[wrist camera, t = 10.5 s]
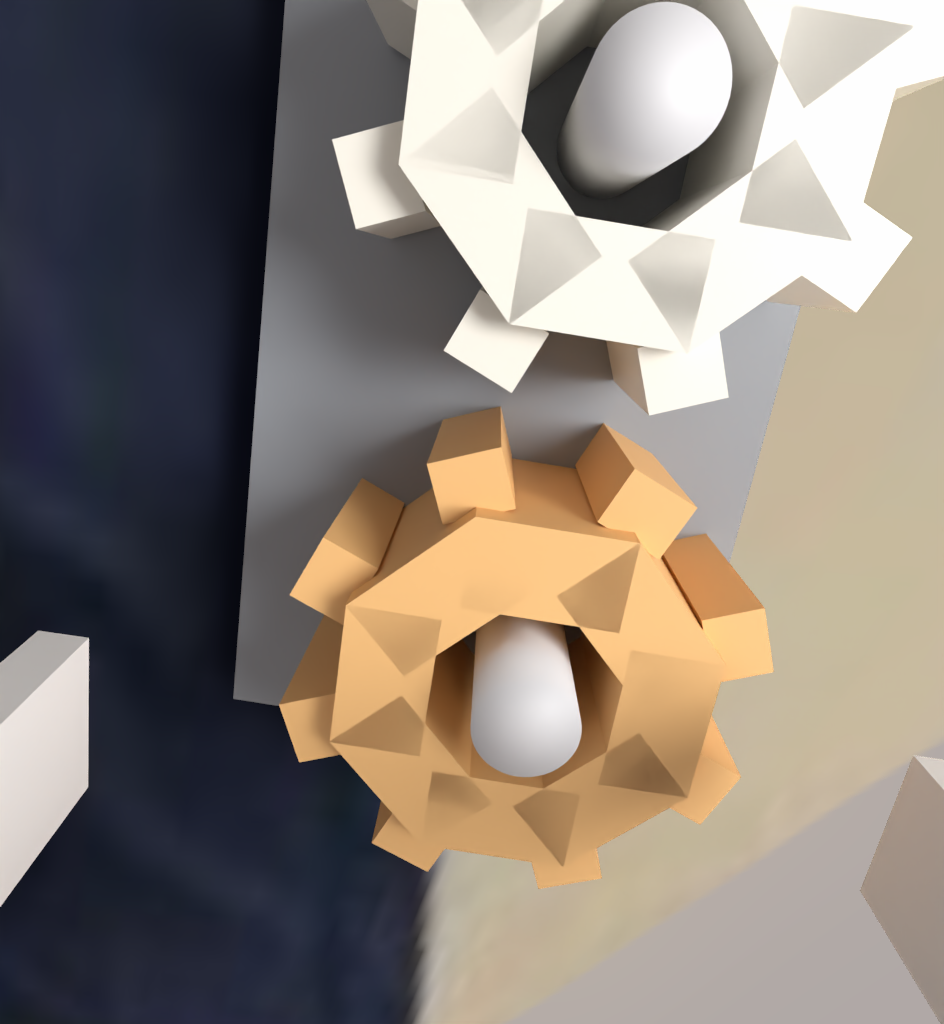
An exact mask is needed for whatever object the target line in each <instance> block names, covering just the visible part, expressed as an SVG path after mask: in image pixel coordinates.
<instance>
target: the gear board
mask: <svg viewBox="0 0 944 1024" xmlns="http://www.w3.org/2000/svg"><path fill="white" fill-rule="evenodd" d="M410 65H411V60H410V59H409V58H407V57H406V56H404V55H403V54H401V53H400V52H399V51H397V50H396V49H394V48H393V47H391V46H390V45H388V44H387V41H386V39H385V37H384V35H383V33H382V31H381V29H380V27H379V25H378V23H377V21H376V19H375V17H374V15H373V13H372V11H371V9H370V7H369V5H368V3H367V1H366V0H285V10H284V23H283V37H282V50H281V64H280V77H279V91H278V104H277V117H276V131H275V144H274V158H273V171H272V185H271V198H270V212H269V225H268V238H267V252H266V265H265V279H264V292H263V306H262V319H261V332H260V346H259V359H258V373H257V386H256V400H255V413H254V427H253V440H252V453H251V467H250V480H249V494H248V507H247V521H246V534H245V548H244V561H243V574H242V588H241V601H240V615H239V628H238V642H237V655H236V668H235V682H234V695H233V699H238V700H244V701H250V702H257V703H263V704H270V705H276V706H279V704H280V702H281V700H282V698H283V696H284V694H285V692H286V690H287V688H288V686H289V684H290V682H291V680H292V678H293V676H294V674H295V672H296V670H297V668H298V666H299V664H300V662H301V660H302V658H303V656H304V654H305V652H306V650H307V648H308V646H309V644H310V642H311V640H312V638H313V636H314V634H315V632H316V630H317V628H318V626H319V624H320V622H321V620H322V618H323V616H324V614H322V613H321V612H319V611H317V610H315V609H313V608H312V607H310V606H308V605H306V604H304V603H303V602H301V601H299V600H297V599H296V598H294V597H292V596H290V593H291V591H292V590H293V588H294V586H295V585H296V583H297V581H298V579H299V578H300V576H301V574H302V573H303V571H304V569H305V568H306V566H307V564H308V562H309V561H310V559H311V557H312V556H313V554H314V552H315V551H316V549H317V547H318V546H319V544H320V542H321V540H322V539H323V537H324V536H325V534H326V532H327V531H328V529H329V528H330V526H331V525H332V523H333V522H334V520H335V519H336V517H337V516H338V514H339V513H340V511H341V509H342V508H343V506H344V505H345V503H346V502H347V500H348V499H349V497H350V496H351V494H352V493H353V491H354V490H355V488H356V487H357V485H358V483H359V482H360V480H361V479H362V478H363V479H365V480H367V481H368V482H370V483H372V484H373V485H375V486H377V487H378V488H380V489H382V490H384V491H385V492H387V493H389V494H390V495H392V496H394V497H395V498H397V499H399V500H401V501H402V502H404V506H403V508H404V507H406V506H407V505H409V504H410V503H411V502H413V501H414V500H416V499H417V498H419V497H420V496H421V495H423V494H424V493H426V492H427V491H429V490H430V489H431V488H433V486H432V482H431V478H430V475H429V471H428V467H427V462H428V459H429V457H430V454H431V451H432V448H433V446H434V443H435V440H436V437H437V435H438V432H439V429H440V427H441V424H442V421H443V420H444V419H448V418H452V417H457V416H461V415H465V414H470V413H474V412H478V411H482V410H487V409H491V408H495V407H500V406H501V410H502V414H503V419H504V423H505V427H506V432H507V436H508V440H509V445H510V449H511V453H512V458H513V459H519V460H525V461H531V462H537V463H543V464H549V465H556V466H562V467H568V468H574V469H576V466H575V464H576V463H577V462H578V460H579V459H580V457H581V456H582V454H583V453H584V451H585V450H586V448H587V447H588V445H589V444H590V442H591V441H592V439H593V438H594V436H595V435H596V433H597V432H598V431H599V429H600V428H601V426H602V425H603V423H604V424H606V425H607V426H609V427H610V428H612V429H614V430H615V431H617V432H618V433H620V434H622V435H623V436H625V437H626V438H628V439H630V440H631V441H633V442H634V443H636V444H638V445H639V446H641V447H642V448H644V449H645V450H647V451H649V452H650V453H652V454H653V455H654V456H655V458H656V459H657V460H658V461H659V462H660V464H661V465H662V466H663V467H664V468H665V470H666V471H667V472H668V473H669V474H670V476H671V477H672V478H673V479H674V480H675V482H676V483H677V484H678V485H679V486H680V488H681V489H682V490H683V491H684V492H685V494H686V495H687V496H688V497H689V498H690V500H691V501H692V502H693V503H694V504H695V506H696V507H697V509H696V511H695V512H694V513H693V515H692V516H691V517H690V519H689V520H688V521H687V523H686V524H685V526H684V527H683V528H682V530H681V531H680V532H679V534H678V535H677V536H676V538H675V539H674V540H677V539H682V538H687V537H691V536H696V535H701V534H707V535H708V537H709V538H710V539H711V541H712V542H713V543H714V544H715V546H716V547H717V548H718V549H719V551H720V552H721V553H722V555H723V556H724V557H725V558H726V560H727V561H728V562H730V559H731V555H732V551H733V548H734V544H735V541H736V537H737V533H738V530H739V526H740V523H741V519H742V515H743V512H744V508H745V505H746V501H747V497H748V494H749V490H750V487H751V483H752V479H753V476H754V472H755V469H756V465H757V461H758V458H759V454H760V451H761V447H762V443H763V440H764V436H765V433H766V429H767V425H768V422H769V418H770V415H771V411H772V407H773V404H774V400H775V397H776V393H777V389H778V386H779V382H780V379H781V375H782V371H783V368H784V364H785V360H786V357H787V353H788V350H789V346H790V342H791V339H792V335H793V332H794V328H795V324H796V321H797V317H798V314H799V310H800V306H798V305H789V304H781V303H773V302H768V301H767V300H765V301H764V302H762V303H761V304H759V305H758V306H756V307H755V308H753V309H752V310H751V311H749V312H748V313H746V314H745V315H743V316H742V317H740V318H739V319H737V320H736V321H735V322H733V323H732V324H730V325H729V326H727V327H726V328H724V329H723V330H721V331H720V332H719V333H720V340H721V347H722V354H723V361H724V368H725V375H726V382H727V389H728V396H729V398H724V399H720V400H715V401H711V402H707V403H702V404H698V405H693V406H689V407H685V408H680V409H676V410H671V411H667V412H663V413H658V414H654V415H648V414H647V413H646V412H645V411H644V410H643V409H642V408H641V407H640V406H639V405H638V404H637V403H636V402H635V401H633V400H632V399H631V398H630V397H629V396H628V395H627V394H626V393H625V392H624V391H623V390H622V389H621V388H620V387H619V386H618V385H617V384H616V383H615V382H614V380H613V375H612V369H611V364H610V359H609V353H608V348H607V342H606V340H602V339H596V338H590V337H584V336H578V335H572V334H566V333H560V332H554V331H548V330H547V332H548V333H549V335H548V336H547V338H546V340H545V341H544V343H543V344H542V346H541V348H540V349H539V351H538V352H537V354H536V355H535V357H534V359H533V360H532V362H531V363H530V365H529V367H528V368H527V370H526V371H525V373H524V374H523V376H522V378H521V379H520V381H519V382H518V384H517V386H516V387H515V389H514V390H513V392H512V393H511V392H509V391H508V390H506V389H504V388H503V387H501V386H500V385H498V384H496V383H495V382H493V381H492V380H490V379H488V378H487V377H485V376H484V375H482V374H480V373H479V372H477V371H476V370H474V369H472V368H471V367H469V366H468V365H466V364H464V363H463V362H461V361H460V360H458V359H456V358H455V357H453V356H452V355H450V354H448V353H447V352H445V351H444V349H445V347H446V346H447V344H448V342H449V341H450V339H451V337H452V336H453V334H454V332H455V331H456V329H457V327H458V326H459V324H460V322H461V320H462V319H463V317H464V315H465V314H466V312H467V310H468V309H469V307H470V305H471V304H472V302H473V300H474V299H475V297H476V295H477V294H478V292H479V290H480V289H481V288H482V287H483V286H482V284H481V283H480V281H479V280H478V278H477V277H476V276H475V274H474V273H473V271H472V270H471V268H470V267H469V265H468V264H467V263H466V261H465V260H464V258H463V257H462V255H461V254H460V252H459V251H458V250H457V248H456V247H455V245H454V244H453V242H452V241H451V239H450V238H449V237H448V235H447V234H446V232H445V231H444V229H443V228H442V226H439V227H435V228H431V229H427V230H424V231H420V232H416V233H412V234H408V235H404V236H400V237H396V238H393V239H389V238H386V237H382V236H379V235H375V234H371V233H368V232H364V231H361V230H357V229H356V228H355V224H354V220H353V216H352V213H351V209H350V205H349V201H348V198H347V194H346V190H345V186H344V182H343V179H342V175H341V171H340V167H339V164H338V160H337V156H336V152H335V149H334V145H333V141H332V139H336V138H340V137H343V136H347V135H351V134H354V133H358V132H362V131H365V130H369V129H373V128H376V127H380V126H383V125H387V124H391V123H394V122H398V121H402V120H404V115H405V106H406V98H407V90H408V81H409V73H410ZM731 88H732V64H731V58H730V54H729V51H728V48H727V45H726V43H725V40H724V38H723V36H722V35H721V33H720V32H719V30H718V29H717V27H716V26H715V25H714V24H713V23H712V21H711V20H710V19H708V18H707V17H706V16H705V15H704V14H702V13H701V12H699V11H698V10H696V9H694V8H692V7H689V6H687V5H684V4H680V3H675V2H656V3H651V4H647V5H644V6H641V7H638V8H636V9H634V10H632V11H631V12H629V13H627V14H626V15H624V16H623V17H622V18H620V19H619V20H618V21H617V22H616V23H615V24H614V25H613V26H612V27H611V28H610V29H609V30H608V32H607V33H606V34H605V36H604V37H603V39H602V40H601V42H600V43H599V45H598V47H597V48H593V47H586V48H584V49H583V50H582V51H581V52H579V53H578V54H577V55H576V56H574V57H573V58H572V59H571V60H569V61H568V62H567V63H566V64H564V65H563V66H562V67H561V68H559V69H558V70H557V71H556V72H554V73H553V74H552V75H551V76H549V77H548V78H547V79H546V80H544V81H543V82H542V83H541V84H539V85H538V86H537V87H536V88H534V89H533V90H532V91H531V92H530V93H528V94H527V99H526V105H525V111H524V117H523V123H522V129H521V132H522V134H523V135H524V137H525V138H526V140H527V142H528V143H529V145H530V146H531V148H532V149H533V151H534V152H535V154H536V155H537V157H538V159H539V160H540V162H541V163H542V165H543V166H544V168H545V169H546V171H547V173H548V174H549V176H550V177H551V179H552V180H553V182H554V183H555V185H556V186H557V188H558V190H559V191H560V193H561V194H562V196H563V197H564V199H565V200H566V202H567V203H568V205H569V207H570V208H571V210H572V211H573V213H574V214H575V216H579V217H585V218H591V219H597V220H603V221H609V222H615V223H621V224H627V225H633V226H639V227H642V226H644V225H645V224H646V223H648V222H649V221H650V220H652V219H653V218H654V217H656V216H657V215H658V214H660V213H661V212H663V211H664V210H665V209H667V208H668V207H669V206H671V205H672V204H673V203H675V202H676V201H678V200H679V199H680V195H681V190H682V186H683V181H684V177H685V172H686V168H687V164H688V159H689V155H690V152H691V151H693V150H694V149H696V148H697V147H698V146H699V145H701V144H702V143H703V142H704V141H705V140H706V139H707V138H708V137H709V136H710V135H711V134H712V132H713V131H714V130H715V128H716V127H717V126H718V124H719V122H720V120H721V119H722V117H723V115H724V112H725V110H726V108H727V105H728V101H729V98H730V94H731ZM403 508H402V509H403ZM581 633H582V630H581V629H580V627H576V626H570V625H564V624H557V623H551V622H545V621H539V620H532V619H526V618H520V617H513V616H507V615H501V614H500V615H498V616H497V617H495V618H494V619H492V620H491V621H489V622H487V623H486V624H484V625H483V626H481V627H480V628H478V629H477V630H475V631H474V632H472V633H470V634H469V635H467V636H466V637H464V638H463V639H462V640H463V641H464V643H465V644H466V645H467V646H468V648H469V649H470V650H471V651H472V653H473V654H474V655H475V661H474V677H473V694H472V710H471V727H470V729H471V738H472V742H473V744H474V747H475V749H476V751H477V752H478V754H479V755H480V756H481V758H482V759H483V760H484V761H485V762H486V763H487V764H489V765H490V766H491V767H493V768H494V769H496V770H498V771H500V772H502V773H505V774H508V775H512V776H517V777H535V776H540V775H544V774H547V773H550V772H552V771H554V770H556V769H558V768H559V767H561V766H562V765H564V764H565V763H566V762H567V761H568V760H569V759H570V758H571V757H572V756H573V754H574V753H575V751H576V749H577V747H578V745H579V742H580V739H581V733H582V724H581V718H580V712H579V707H578V702H577V696H576V691H575V685H574V680H573V674H572V669H571V663H570V658H569V652H568V647H567V645H568V644H570V643H571V642H573V641H575V640H576V639H578V638H580V637H581Z"/></svg>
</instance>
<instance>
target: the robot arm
mask: <svg viewBox="0 0 944 1024" xmlns="http://www.w3.org/2000/svg"><path fill="white" fill-rule="evenodd" d="M88 715H89V638H86V637H79V636H72V635H65V634H58V633H51V632H44V631H37V632H36V633H35V634H34V635H33V636H32V637H30V638H29V639H28V640H27V641H26V642H24V643H23V644H22V645H21V646H20V647H19V648H17V649H16V650H15V651H14V652H13V653H12V654H10V655H9V656H8V657H7V658H6V659H4V660H3V661H2V662H1V663H0V906H1V905H2V904H3V902H4V901H5V899H6V898H7V897H8V895H9V894H10V893H11V891H12V890H13V889H14V887H15V886H16V885H17V883H18V882H19V880H20V879H21V878H22V876H23V875H24V874H25V872H26V871H27V870H28V868H29V867H30V865H31V864H32V863H33V861H34V860H35V859H36V857H37V856H38V855H39V853H40V852H41V850H42V849H43V848H44V846H45V845H46V844H47V842H48V841H49V840H50V838H51V837H52V836H53V834H54V833H55V831H56V830H57V829H58V827H59V826H60V825H61V823H62V822H63V821H64V819H65V818H66V816H67V815H68V814H69V812H70V811H71V810H72V808H73V807H74V806H75V804H76V803H77V801H78V800H79V799H80V797H81V796H82V795H83V793H84V792H85V791H86V789H87V788H88ZM860 891H861V893H862V895H863V896H864V898H865V900H866V901H867V903H868V904H869V906H870V907H871V909H872V911H873V913H874V914H875V916H876V918H877V919H878V921H879V923H880V924H881V926H882V928H883V929H884V930H885V933H886V934H887V936H888V937H889V939H890V941H891V942H892V944H893V946H894V947H895V949H896V951H897V952H898V954H899V956H900V957H901V959H902V960H903V962H904V964H905V966H906V967H907V969H908V970H909V972H910V974H911V975H912V977H913V979H914V981H915V982H916V984H917V985H918V987H919V989H920V990H921V992H922V994H923V995H924V997H925V999H926V1000H927V1002H928V1004H929V1005H930V1007H931V1008H932V1010H933V1012H934V1014H935V1015H936V1017H937V1019H938V1020H939V1022H940V1023H941V1024H944V760H942V759H935V758H929V757H922V756H915V755H913V758H912V760H911V763H910V765H909V768H908V771H907V773H906V776H905V778H904V781H903V784H902V786H901V788H900V791H899V793H898V796H897V798H896V801H895V803H894V806H893V809H892V811H891V814H890V816H889V819H888V821H887V824H886V826H885V829H884V831H883V834H882V837H881V839H880V841H879V844H878V847H877V849H876V852H875V854H874V857H873V859H872V862H871V865H870V867H869V869H868V872H867V874H866V877H865V880H864V882H863V885H862V887H861V890H860Z"/></svg>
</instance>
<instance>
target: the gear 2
mask: <svg viewBox="0 0 944 1024" xmlns="http://www.w3.org/2000/svg"><path fill="white" fill-rule="evenodd" d="M575 466H576V469H574V468H568V467H562V466H556V465H549V464H543V463H537V462H531V461H525V460H519V459H513V458H512V453H511V449H510V445H509V440H508V436H507V432H506V427H505V423H504V419H503V414H502V410H501V406H500V407H495V408H491V409H487V410H482V411H478V412H474V413H470V414H465V415H461V416H457V417H452V418H448V419H444V420H443V421H442V424H441V427H440V429H439V432H438V435H437V437H436V440H435V443H434V446H433V448H432V451H431V454H430V457H429V459H428V462H427V467H428V471H429V475H430V478H431V482H432V486H433V488H431V489H430V490H429V491H427V492H426V493H424V494H423V495H421V496H420V497H419V498H417V499H416V500H414V501H413V502H411V503H410V504H409V505H407V506H406V507H404V508H403V506H404V502H402V501H401V500H399V499H397V498H395V497H394V496H392V495H390V494H389V493H387V492H385V491H384V490H382V489H380V488H378V487H377V486H375V485H373V484H372V483H370V482H368V481H367V480H365V479H363V478H362V479H361V480H360V482H359V483H358V485H357V487H356V488H355V490H354V491H353V493H352V494H351V496H350V497H349V499H348V500H347V502H346V503H345V505H344V506H343V508H342V509H341V511H340V513H339V514H338V516H337V517H336V519H335V520H334V522H333V523H332V525H331V526H330V528H329V529H328V531H327V532H326V534H325V536H324V537H323V539H322V540H321V542H320V544H319V546H318V547H317V549H316V551H315V552H314V554H313V556H312V557H311V559H310V561H309V562H308V564H307V566H306V568H305V569H304V571H303V573H302V574H301V576H300V578H299V579H298V581H297V583H296V585H295V586H294V588H293V590H292V591H291V593H290V596H292V597H294V598H296V599H297V600H299V601H301V602H303V603H304V604H306V605H308V606H310V607H312V608H313V609H315V610H317V611H319V612H321V613H322V614H324V616H323V618H322V620H321V622H320V624H319V626H318V628H317V630H316V632H315V634H314V636H313V638H312V640H311V642H310V644H309V646H308V648H307V650H306V652H305V654H304V656H303V658H302V660H301V662H300V664H299V666H298V668H297V670H296V672H295V674H294V676H293V678H292V680H291V682H290V684H289V686H288V688H287V690H286V692H285V694H284V696H283V698H282V700H281V702H280V704H279V706H280V709H281V712H282V715H283V718H284V721H285V723H286V726H287V729H288V732H289V735H290V738H291V740H292V743H293V746H294V749H295V752H296V755H297V757H298V760H299V762H304V761H309V760H315V759H320V758H325V757H330V756H336V755H342V756H343V758H344V759H345V760H346V761H347V762H348V763H349V764H350V766H351V767H352V768H353V769H354V770H355V771H356V772H357V774H358V775H359V776H360V777H361V778H362V779H363V780H364V781H365V783H366V784H367V785H368V786H369V787H370V788H371V789H372V791H373V792H374V793H375V794H376V795H377V796H378V797H379V798H380V800H381V803H380V808H379V812H378V817H377V821H376V826H375V830H374V835H373V839H372V843H373V844H375V845H377V846H379V847H381V848H383V849H385V850H386V851H388V852H390V853H392V854H394V855H396V856H398V857H400V858H402V859H404V860H406V861H408V862H410V863H411V864H413V865H415V866H417V867H419V868H421V869H423V870H425V871H427V872H428V870H429V869H430V868H431V866H432V865H433V864H434V862H435V861H436V860H437V858H438V857H439V856H440V854H441V853H442V852H443V850H444V849H450V850H457V851H463V852H470V853H476V854H483V855H489V856H496V857H502V858H509V859H515V860H522V861H528V862H532V866H533V870H534V874H535V877H536V881H537V885H538V889H541V888H547V887H553V886H559V885H565V884H571V883H577V882H583V881H588V880H594V879H600V878H602V876H601V871H600V865H599V859H598V853H597V848H598V847H600V846H602V845H603V844H605V843H607V842H609V841H611V840H612V839H614V838H616V837H618V836H620V835H621V834H623V833H625V832H627V831H629V830H630V829H632V828H634V827H636V826H638V825H639V824H641V823H643V822H645V821H647V820H648V819H650V818H652V817H654V816H656V815H657V814H659V813H661V812H663V811H665V810H666V809H668V808H671V809H673V810H675V811H676V812H678V813H680V814H682V815H684V816H685V817H687V818H689V819H691V820H692V821H694V822H696V823H698V824H701V823H702V822H703V821H704V820H705V818H706V817H707V816H708V815H709V814H710V813H711V811H712V810H713V809H714V808H715V807H716V806H717V805H718V803H719V802H720V801H721V800H722V799H723V798H724V796H725V795H726V794H727V793H728V792H729V791H730V789H731V788H732V787H733V786H734V785H735V784H736V782H737V781H738V780H739V779H740V778H741V776H740V774H739V772H738V770H737V768H736V765H735V763H734V761H733V759H732V757H731V755H730V753H729V751H728V749H727V747H726V745H725V742H724V740H723V738H722V736H721V734H720V732H719V730H718V728H717V726H716V724H715V722H714V719H713V717H712V712H713V708H714V705H715V701H716V698H717V695H718V691H719V688H720V684H721V682H724V681H729V680H734V679H740V678H745V677H750V676H755V675H761V674H766V673H771V672H774V671H773V664H772V656H771V649H770V642H769V635H768V628H767V621H766V614H765V608H764V607H763V605H762V604H761V603H760V602H759V600H758V599H757V598H756V596H755V595H754V594H753V593H752V591H751V590H750V589H749V588H748V586H747V585H746V584H745V582H744V581H743V580H742V579H741V577H740V576H739V575H738V574H737V572H736V571H735V570H734V568H733V567H732V566H731V565H730V563H729V562H728V561H727V560H726V558H725V557H724V556H723V555H722V553H721V552H720V551H719V549H718V548H717V547H716V546H715V544H714V543H713V542H712V541H711V539H710V538H709V537H708V535H707V534H701V535H696V536H691V537H687V538H682V539H677V540H674V539H675V538H676V536H677V535H678V534H679V532H680V531H681V530H682V528H683V527H684V526H685V524H686V523H687V521H688V520H689V519H690V517H691V516H692V515H693V513H694V512H695V511H696V509H697V507H696V506H695V504H694V503H693V502H692V501H691V500H690V498H689V497H688V496H687V495H686V494H685V492H684V491H683V490H682V489H681V488H680V486H679V485H678V484H677V483H676V482H675V480H674V479H673V478H672V477H671V476H670V474H669V473H668V472H667V471H666V470H665V468H664V467H663V466H662V465H661V464H660V462H659V461H658V460H657V459H656V458H655V456H654V455H653V454H652V453H650V452H649V451H647V450H645V449H644V448H642V447H641V446H639V445H638V444H636V443H634V442H633V441H631V440H630V439H628V438H626V437H625V436H623V435H622V434H620V433H618V432H617V431H615V430H614V429H612V428H610V427H609V426H607V425H606V424H604V423H603V425H602V426H601V428H600V429H599V431H598V432H597V433H596V435H595V436H594V438H593V439H592V441H591V442H590V444H589V445H588V447H587V448H586V450H585V451H584V453H583V454H582V456H581V457H580V459H579V460H578V462H577V463H576V464H575ZM402 508H403V509H402ZM500 614H501V615H507V616H513V617H520V618H526V619H532V620H539V621H545V622H551V623H557V624H564V625H570V626H576V627H580V629H581V630H582V633H581V637H580V638H578V639H576V640H575V641H573V642H571V643H570V644H568V645H567V647H568V652H569V658H570V663H571V669H572V674H573V680H574V685H575V691H576V696H577V702H578V707H579V712H580V718H581V724H582V733H581V739H580V742H579V745H578V747H577V749H576V751H575V753H574V754H573V756H572V757H571V758H570V759H569V760H568V761H567V762H566V763H565V764H564V765H562V766H561V767H559V768H558V769H556V770H554V771H552V772H550V773H547V774H544V775H540V776H535V777H517V776H512V775H508V774H505V773H502V772H500V771H498V770H496V769H494V768H493V767H491V766H490V765H489V764H487V763H486V762H485V761H484V760H483V759H482V758H481V756H480V755H479V754H478V752H477V751H476V749H475V747H474V744H473V742H472V738H471V729H470V727H471V710H472V694H473V677H474V661H475V655H474V654H473V653H472V651H471V650H470V649H469V648H468V646H467V645H466V644H465V643H464V641H463V640H462V639H463V638H464V637H466V636H467V635H469V634H470V633H472V632H474V631H475V630H477V629H478V628H480V627H481V626H483V625H484V624H486V623H487V622H489V621H491V620H492V619H494V618H495V617H497V616H498V615H500Z"/></svg>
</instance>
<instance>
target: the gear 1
mask: <svg viewBox="0 0 944 1024" xmlns="http://www.w3.org/2000/svg"><path fill="white" fill-rule="evenodd" d="M366 1H367V3H368V5H369V7H370V9H371V11H372V13H373V15H374V17H375V19H376V21H377V23H378V25H379V27H380V29H381V31H382V33H383V35H384V37H385V39H386V41H387V44H388V45H390V46H391V47H393V48H394V49H396V50H397V51H399V52H400V53H401V54H403V55H404V56H406V57H407V58H409V59H410V60H411V65H410V73H409V81H408V90H407V98H406V106H405V115H404V120H402V121H398V122H394V123H391V124H387V125H383V126H380V127H376V128H373V129H369V130H365V131H362V132H358V133H354V134H351V135H347V136H343V137H340V138H336V139H332V141H333V145H334V149H335V152H336V156H337V160H338V164H339V167H340V171H341V175H342V179H343V182H344V186H345V190H346V194H347V198H348V201H349V205H350V209H351V213H352V216H353V220H354V224H355V228H356V229H357V230H361V231H364V232H368V233H371V234H375V235H379V236H382V237H386V238H389V239H393V238H396V237H400V236H404V235H408V234H412V233H416V232H420V231H424V230H427V229H431V228H435V227H439V226H442V228H443V229H444V231H445V232H446V234H447V235H448V237H449V238H450V239H451V241H452V242H453V244H454V245H455V247H456V248H457V250H458V251H459V252H460V254H461V255H462V257H463V258H464V260H465V261H466V263H467V264H468V265H469V267H470V268H471V270H472V271H473V273H474V274H475V276H476V277H477V278H478V280H479V281H480V283H481V284H482V286H483V287H482V288H481V289H480V290H479V292H478V294H477V295H476V297H475V299H474V300H473V302H472V304H471V305H470V307H469V309H468V310H467V312H466V314H465V315H464V317H463V319H462V320H461V322H460V324H459V326H458V327H457V329H456V331H455V332H454V334H453V336H452V337H451V339H450V341H449V342H448V344H447V346H446V347H445V349H444V351H445V352H447V353H448V354H450V355H452V356H453V357H455V358H456V359H458V360H460V361H461V362H463V363H464V364H466V365H468V366H469V367H471V368H472V369H474V370H476V371H477V372H479V373H480V374H482V375H484V376H485V377H487V378H488V379H490V380H492V381H493V382H495V383H496V384H498V385H500V386H501V387H503V388H504V389H506V390H508V391H509V392H511V393H512V392H513V390H514V389H515V387H516V386H517V384H518V382H519V381H520V379H521V378H522V376H523V374H524V373H525V371H526V370H527V368H528V367H529V365H530V363H531V362H532V360H533V359H534V357H535V355H536V354H537V352H538V351H539V349H540V348H541V346H542V344H543V343H544V341H545V340H546V338H547V336H548V335H549V333H548V332H547V330H548V331H554V332H560V333H566V334H572V335H578V336H584V337H590V338H596V339H602V340H606V342H607V348H608V353H609V359H610V364H611V369H612V375H613V380H614V382H615V383H616V384H617V385H618V386H619V387H620V388H621V389H622V390H623V391H624V392H625V393H626V394H627V395H628V396H629V397H630V398H631V399H632V400H633V401H635V402H636V403H637V404H638V405H639V406H640V407H641V408H642V409H643V410H644V411H645V412H646V413H647V414H648V415H654V414H658V413H663V412H667V411H671V410H676V409H680V408H685V407H689V406H693V405H698V404H702V403H707V402H711V401H715V400H720V399H724V398H729V396H728V389H727V382H726V375H725V368H724V361H723V354H722V347H721V340H720V333H719V332H720V331H721V330H723V329H724V328H726V327H727V326H729V325H730V324H732V323H733V322H735V321H736V320H737V319H739V318H740V317H742V316H743V315H745V314H746V313H748V312H749V311H751V310H752V309H753V308H755V307H756V306H758V305H759V304H761V303H762V302H764V301H765V300H767V301H768V302H773V303H781V304H789V305H798V306H806V307H814V308H823V309H831V310H839V311H847V312H857V311H858V310H859V308H860V307H861V306H862V304H863V303H864V302H865V300H866V299H867V298H868V296H869V295H870V294H871V292H872V291H873V290H874V288H875V287H876V285H877V284H878V283H879V281H880V280H881V279H882V277H883V276H884V275H885V273H886V272H887V271H888V269H889V268H890V267H891V265H892V264H893V263H894V261H895V260H896V259H897V257H898V256H899V255H900V253H901V252H902V251H903V249H904V248H905V247H906V245H907V244H908V243H909V241H910V240H911V239H912V237H911V236H910V235H908V234H907V233H905V232H904V231H903V230H901V229H900V228H898V227H897V226H896V225H894V224H893V223H891V222H890V221H889V220H887V219H886V218H884V217H883V216H882V215H880V214H879V213H877V212H876V211H875V210H873V209H872V208H870V207H869V206H867V205H866V204H865V203H863V201H864V198H865V194H866V191H867V187H868V184H869V180H870V177H871V173H872V170H873V167H874V163H875V160H876V156H877V153H878V149H879V146H880V142H881V139H882V136H883V132H884V129H885V125H886V122H887V118H888V115H889V111H890V108H891V104H892V101H894V100H896V99H899V98H901V97H903V96H906V95H908V94H911V93H913V92H915V91H918V90H920V89H922V88H925V87H927V86H929V85H932V84H934V83H936V82H939V81H941V80H943V79H944V0H366ZM656 2H675V3H680V4H684V5H687V6H689V7H692V8H694V9H696V10H698V11H699V12H701V13H702V14H704V15H705V16H706V17H707V18H708V19H710V20H711V21H712V23H713V24H714V25H715V26H716V27H717V29H718V30H719V32H720V33H721V35H722V36H723V38H724V40H725V43H726V45H727V48H728V51H729V54H730V58H731V64H732V88H731V94H730V98H729V101H728V105H727V108H726V110H725V112H724V115H723V117H722V119H721V120H720V122H719V124H718V126H717V127H716V128H715V130H714V131H713V132H712V134H711V135H710V136H709V137H708V138H707V139H706V140H705V141H704V142H703V143H702V144H701V145H699V146H698V147H697V148H696V149H694V150H693V151H691V152H690V155H689V159H688V164H687V168H686V172H685V177H684V181H683V186H682V190H681V195H680V199H679V200H678V201H676V202H675V203H673V204H672V205H671V206H669V207H668V208H667V209H665V210H664V211H663V212H661V213H660V214H658V215H657V216H656V217H654V218H653V219H652V220H650V221H649V222H648V223H646V224H645V225H644V226H642V227H639V226H633V225H627V224H621V223H615V222H609V221H603V220H597V219H591V218H585V217H579V216H575V214H574V213H573V211H572V210H571V208H570V207H569V205H568V203H567V202H566V200H565V199H564V197H563V196H562V194H561V193H560V191H559V190H558V188H557V186H556V185H555V183H554V182H553V180H552V179H551V177H550V176H549V174H548V173H547V171H546V169H545V168H544V166H543V165H542V163H541V162H540V160H539V159H538V157H537V155H536V154H535V152H534V151H533V149H532V148H531V146H530V145H529V143H528V142H527V140H526V138H525V137H524V135H523V134H522V132H521V129H522V123H523V117H524V111H525V105H526V99H527V94H528V93H530V92H531V91H532V90H533V89H534V88H536V87H537V86H538V85H539V84H541V83H542V82H543V81H544V80H546V79H547V78H548V77H549V76H551V75H552V74H553V73H554V72H556V71H557V70H558V69H559V68H561V67H562V66H563V65H564V64H566V63H567V62H568V61H569V60H571V59H572V58H573V57H574V56H576V55H577V54H578V53H579V52H581V51H582V50H583V49H584V48H586V47H593V48H597V47H598V45H599V43H600V42H601V40H602V39H603V37H604V36H605V34H606V33H607V32H608V30H609V29H610V28H611V27H612V26H613V25H614V24H615V23H616V22H617V21H618V20H619V19H620V18H622V17H623V16H624V15H626V14H627V13H629V12H631V11H632V10H634V9H636V8H638V7H641V6H644V5H647V4H651V3H656Z"/></svg>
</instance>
